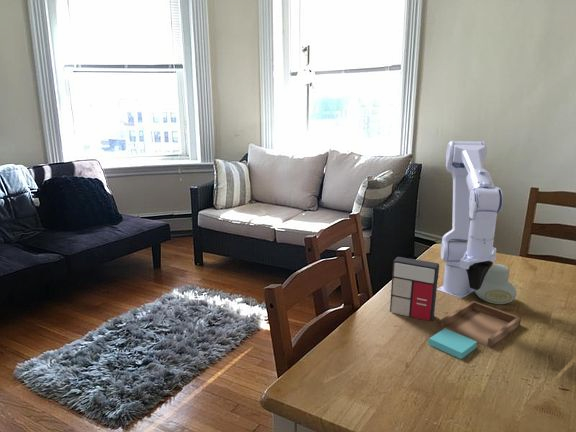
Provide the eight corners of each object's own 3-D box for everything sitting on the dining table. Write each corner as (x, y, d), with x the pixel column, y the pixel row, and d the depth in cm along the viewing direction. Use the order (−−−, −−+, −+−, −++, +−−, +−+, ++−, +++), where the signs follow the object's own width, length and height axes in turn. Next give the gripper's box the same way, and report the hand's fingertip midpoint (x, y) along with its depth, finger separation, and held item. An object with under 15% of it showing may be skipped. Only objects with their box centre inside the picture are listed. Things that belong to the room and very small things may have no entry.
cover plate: (443, 337, 108) (444, 328, 107) (475, 351, 102) (477, 341, 102) (428, 347, 104) (429, 338, 103) (460, 363, 98) (461, 353, 97)
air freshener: (475, 304, 124) (479, 271, 121) (471, 291, 132) (474, 260, 129) (518, 308, 122) (523, 274, 119) (511, 295, 129) (515, 263, 127)
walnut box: (471, 308, 121) (472, 300, 121) (519, 326, 112) (521, 317, 112) (440, 328, 111) (441, 319, 111) (490, 349, 102) (491, 339, 102)
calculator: (388, 314, 118) (392, 261, 114) (393, 307, 122) (396, 256, 118) (431, 323, 114) (436, 269, 110) (434, 316, 117) (439, 263, 113)
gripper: (482, 247, 101) (476, 302, 105) (510, 234, 110) (503, 285, 114) (453, 239, 106) (448, 292, 110) (483, 228, 115) (477, 276, 119)
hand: (474, 288), depth 112 cm, fingers closed
